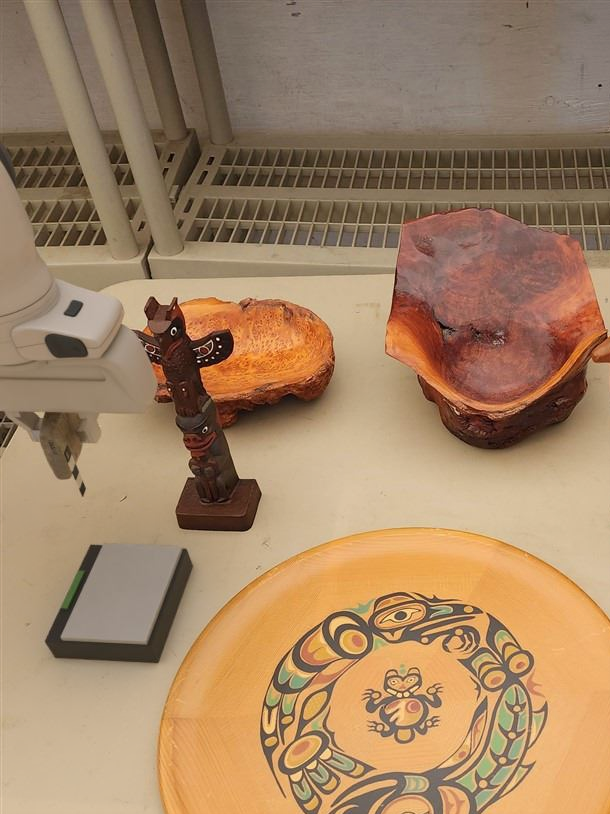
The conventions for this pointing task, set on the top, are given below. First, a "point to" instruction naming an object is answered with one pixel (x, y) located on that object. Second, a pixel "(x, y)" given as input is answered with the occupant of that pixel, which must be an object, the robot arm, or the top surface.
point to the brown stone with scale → (62, 445)
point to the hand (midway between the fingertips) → (68, 438)
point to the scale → (121, 603)
